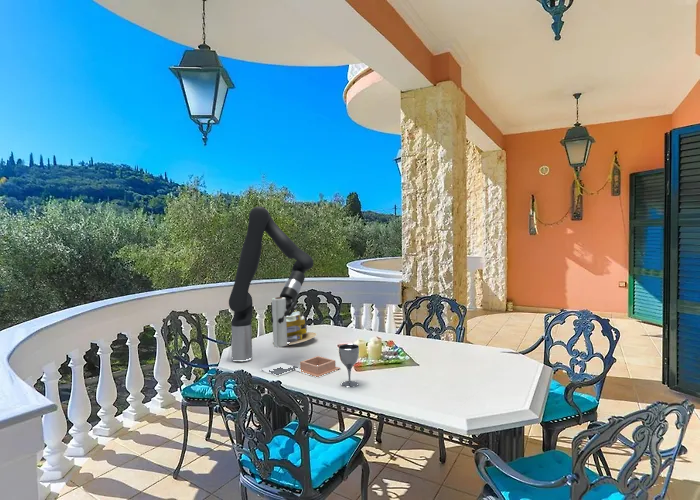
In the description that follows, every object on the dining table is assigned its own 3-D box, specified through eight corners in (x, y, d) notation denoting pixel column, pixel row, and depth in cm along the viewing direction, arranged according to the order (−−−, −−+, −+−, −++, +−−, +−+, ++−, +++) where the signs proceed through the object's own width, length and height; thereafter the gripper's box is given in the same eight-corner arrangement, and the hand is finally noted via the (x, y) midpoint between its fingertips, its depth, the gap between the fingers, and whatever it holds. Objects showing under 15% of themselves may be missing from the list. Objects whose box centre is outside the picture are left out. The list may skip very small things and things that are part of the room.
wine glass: (342, 388, 152) (341, 350, 151) (337, 381, 159) (336, 344, 159) (362, 386, 154) (361, 348, 153) (356, 379, 161) (355, 343, 161)
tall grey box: (281, 342, 180) (279, 296, 179) (290, 344, 176) (288, 297, 176) (268, 346, 175) (266, 298, 174) (277, 348, 171) (275, 299, 170)
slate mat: (260, 370, 175) (260, 368, 175) (281, 363, 184) (281, 362, 184) (277, 376, 167) (277, 374, 167) (299, 368, 176) (299, 367, 176)
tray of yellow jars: (266, 347, 213) (265, 316, 213) (280, 336, 238) (279, 308, 237) (311, 348, 210) (310, 317, 209) (320, 336, 234) (320, 308, 234)
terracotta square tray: (295, 371, 173) (295, 362, 173) (318, 363, 184) (318, 354, 184) (317, 377, 164) (317, 368, 164) (340, 369, 175) (340, 360, 174)
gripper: (274, 285, 184) (259, 316, 174) (300, 286, 178) (285, 318, 168) (282, 295, 189) (267, 325, 179) (306, 296, 183) (292, 328, 173)
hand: (276, 322), depth 173 cm, fingers closed on tall grey box, 3 cm apart
